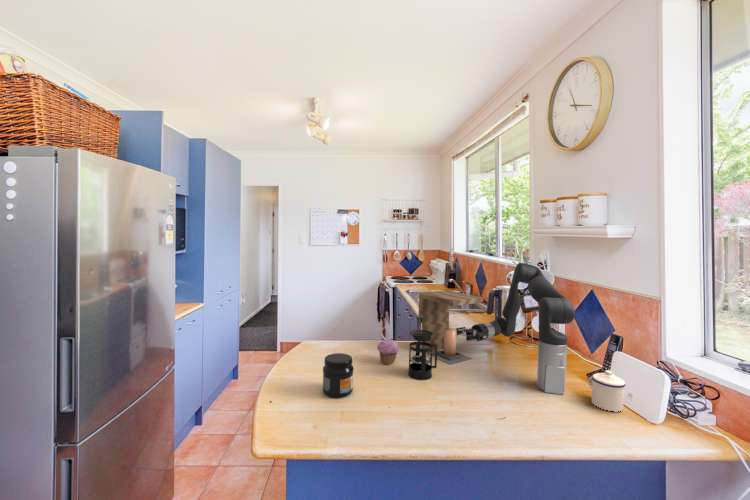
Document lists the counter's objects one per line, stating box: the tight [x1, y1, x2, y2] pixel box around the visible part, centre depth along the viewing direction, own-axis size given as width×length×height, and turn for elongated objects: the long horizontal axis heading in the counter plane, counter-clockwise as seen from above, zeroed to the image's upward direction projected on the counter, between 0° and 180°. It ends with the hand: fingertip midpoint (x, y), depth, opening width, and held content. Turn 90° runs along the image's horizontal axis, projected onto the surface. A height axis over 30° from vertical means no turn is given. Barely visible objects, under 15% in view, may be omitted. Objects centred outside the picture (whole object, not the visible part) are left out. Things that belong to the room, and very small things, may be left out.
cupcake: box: [377, 339, 399, 366], centre depth 144 cm, size 9×9×10 cm
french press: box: [407, 316, 438, 381], centre depth 132 cm, size 12×9×23 cm
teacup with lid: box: [587, 369, 626, 413], centre depth 112 cm, size 12×9×12 cm
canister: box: [443, 327, 457, 357], centre depth 153 cm, size 6×6×12 cm
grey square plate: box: [427, 349, 473, 365], centre depth 153 cm, size 14×14×2 cm
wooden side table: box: [417, 290, 484, 354], centre depth 153 cm, size 18×22×28 cm
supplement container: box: [322, 352, 355, 399], centre depth 116 cm, size 10×10×12 cm
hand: (459, 335), depth 156 cm, fingers open, 8 cm apart
